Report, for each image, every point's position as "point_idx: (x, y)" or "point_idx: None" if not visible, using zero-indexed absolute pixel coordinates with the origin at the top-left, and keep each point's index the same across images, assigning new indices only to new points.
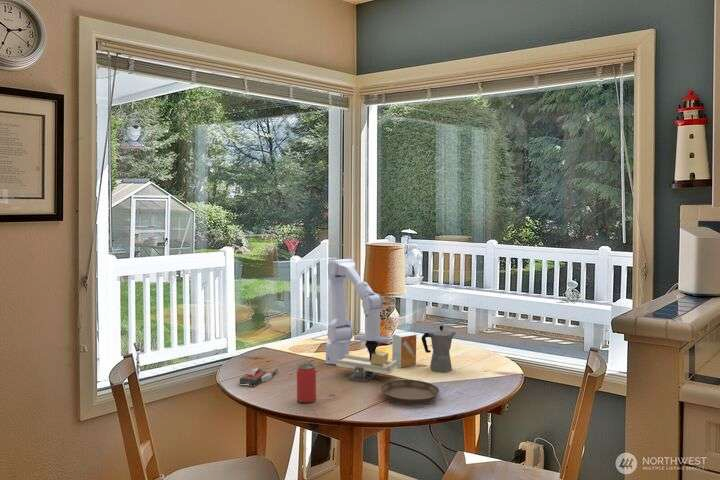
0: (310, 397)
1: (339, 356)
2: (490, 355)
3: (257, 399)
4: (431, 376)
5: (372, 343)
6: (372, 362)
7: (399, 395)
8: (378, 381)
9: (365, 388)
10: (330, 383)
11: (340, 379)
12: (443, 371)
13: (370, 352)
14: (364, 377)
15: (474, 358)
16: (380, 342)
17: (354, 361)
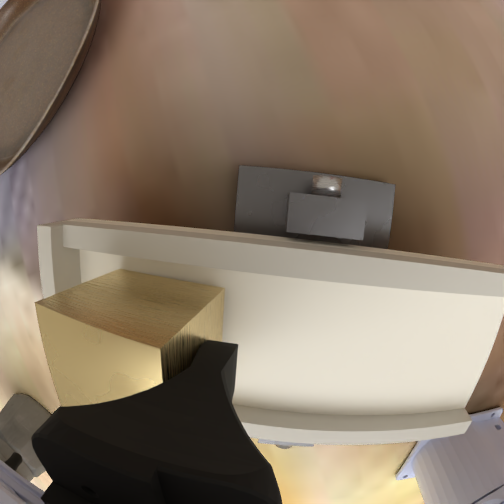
0: None
1: (467, 447)
2: (39, 487)
3: None
4: (18, 348)
5: (79, 474)
6: (193, 296)
7: (48, 42)
8: (171, 210)
9: (215, 52)
10: (449, 95)
11: (429, 182)
12: (18, 394)
13: (197, 383)
14: (271, 210)
15: (45, 480)
16: (6, 466)
17: (399, 372)
